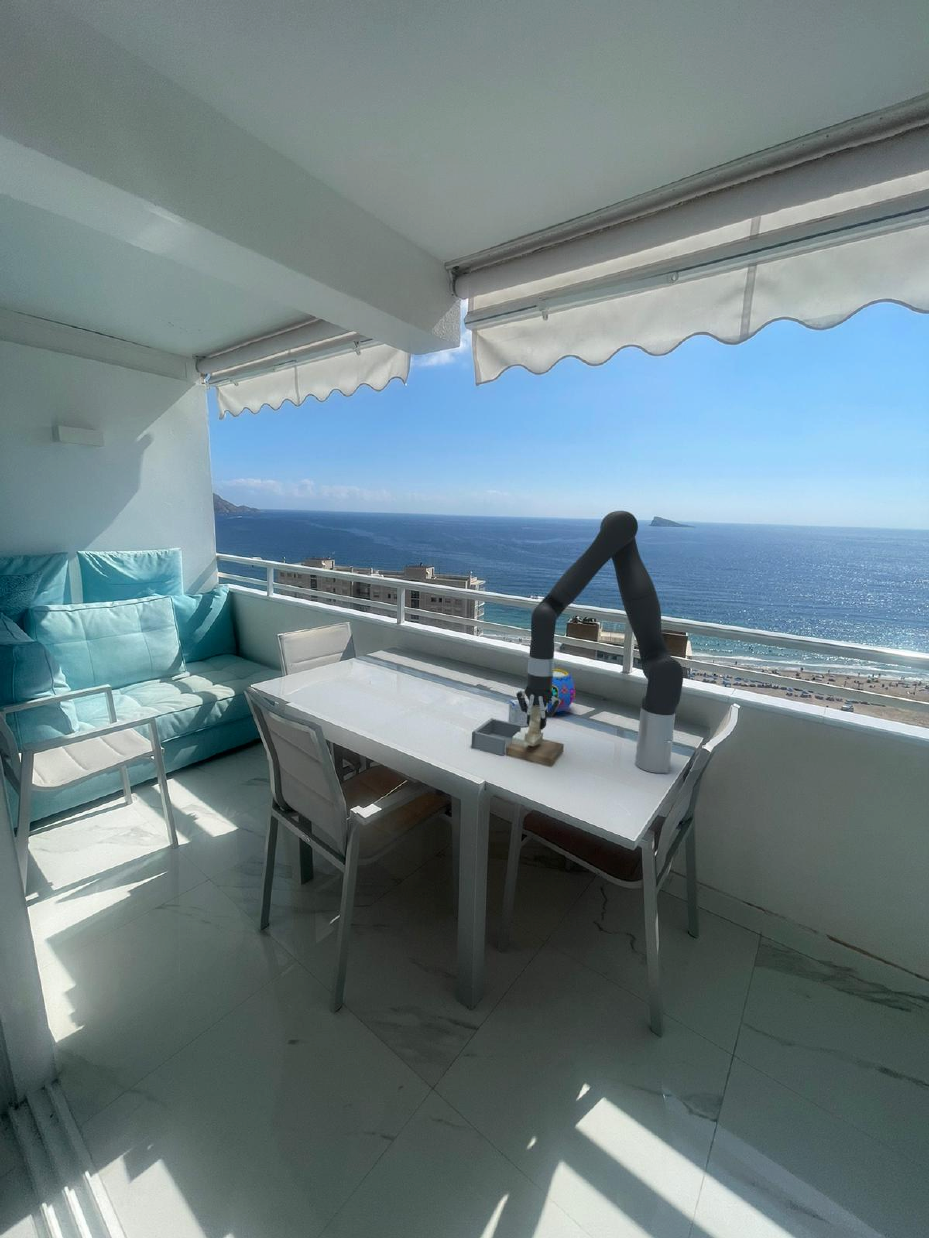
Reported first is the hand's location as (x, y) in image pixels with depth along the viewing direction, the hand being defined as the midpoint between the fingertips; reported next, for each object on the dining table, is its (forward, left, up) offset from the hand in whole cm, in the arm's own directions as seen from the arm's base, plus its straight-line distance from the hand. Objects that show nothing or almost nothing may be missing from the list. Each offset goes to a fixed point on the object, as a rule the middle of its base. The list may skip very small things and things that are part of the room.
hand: (536, 727), depth 144 cm
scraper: (0, +2, -4) cm, 5 cm away
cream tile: (+4, 0, -6) cm, 7 cm away
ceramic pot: (+8, -39, -9) cm, 41 cm away
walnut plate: (0, 0, -8) cm, 8 cm away
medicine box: (+12, -19, -9) cm, 24 cm away
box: (+13, 0, -8) cm, 15 cm away
